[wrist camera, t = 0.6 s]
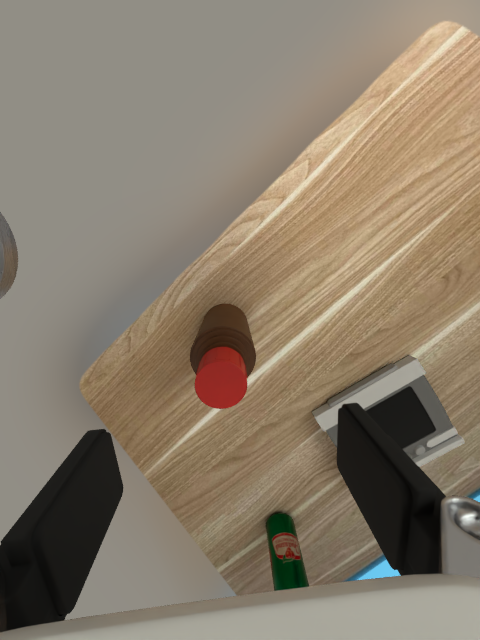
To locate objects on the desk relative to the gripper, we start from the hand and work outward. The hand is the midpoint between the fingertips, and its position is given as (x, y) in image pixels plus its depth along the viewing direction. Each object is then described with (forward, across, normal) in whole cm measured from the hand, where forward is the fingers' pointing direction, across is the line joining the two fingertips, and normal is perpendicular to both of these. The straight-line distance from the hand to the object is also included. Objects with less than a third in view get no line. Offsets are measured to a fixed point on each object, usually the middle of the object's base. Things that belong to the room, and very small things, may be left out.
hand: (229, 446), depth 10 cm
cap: (+12, +1, +2) cm, 12 cm away
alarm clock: (+26, -23, +20) cm, 40 cm away
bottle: (+26, 0, +2) cm, 26 cm away
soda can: (+26, -6, +40) cm, 48 cm away
